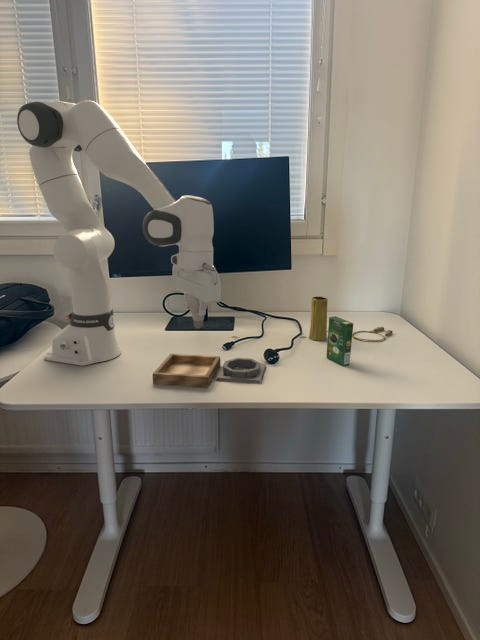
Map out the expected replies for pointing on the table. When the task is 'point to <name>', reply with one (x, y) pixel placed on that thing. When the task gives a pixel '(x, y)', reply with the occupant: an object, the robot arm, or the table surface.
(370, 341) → the extension cord
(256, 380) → the socket
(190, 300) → the lightbulb
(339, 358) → the coffee box
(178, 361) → the tray
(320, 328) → the vase
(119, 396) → the table surface
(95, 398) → the table surface
